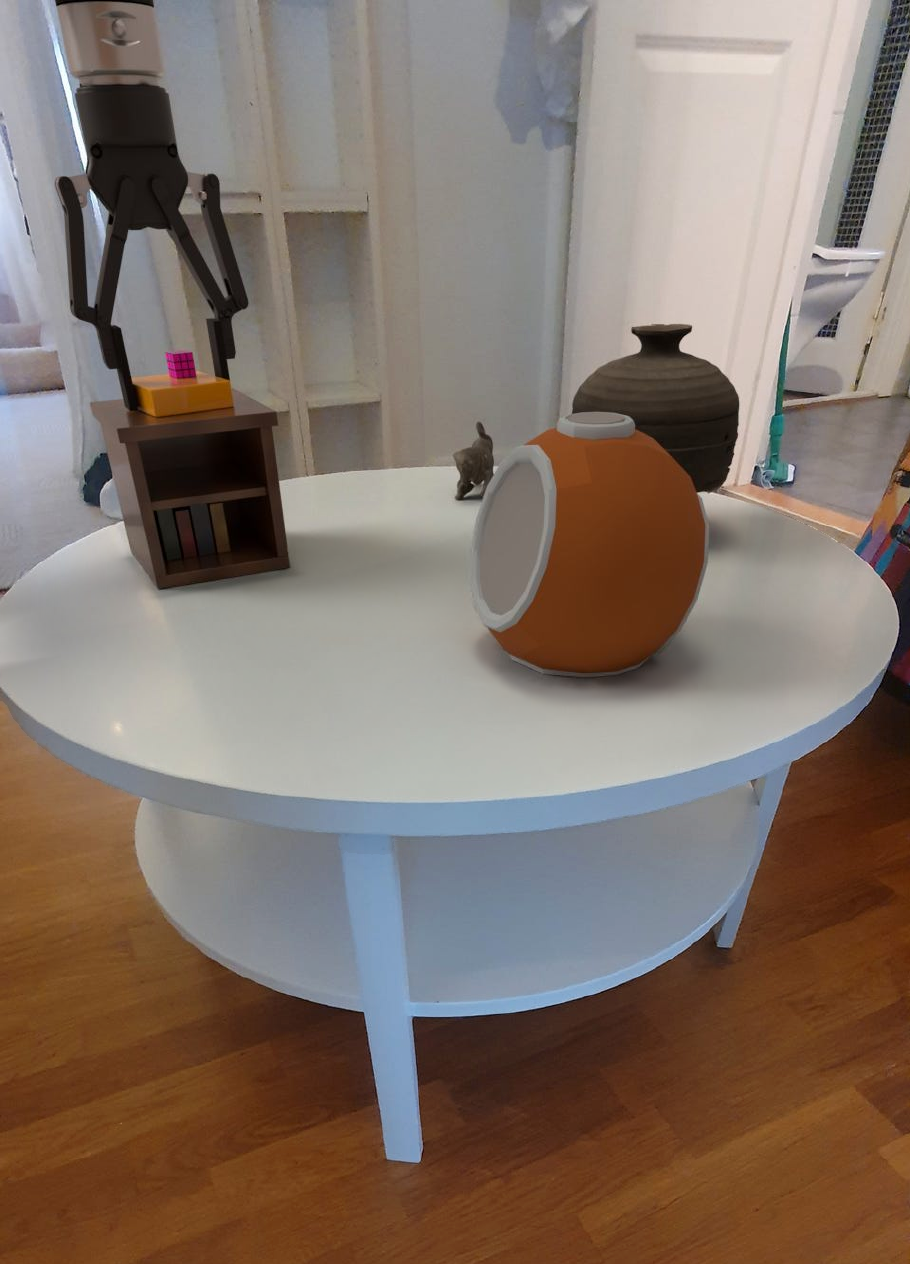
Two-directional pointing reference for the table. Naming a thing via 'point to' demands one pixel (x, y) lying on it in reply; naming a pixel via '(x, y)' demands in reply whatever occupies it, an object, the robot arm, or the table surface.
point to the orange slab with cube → (181, 389)
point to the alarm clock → (588, 548)
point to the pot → (671, 402)
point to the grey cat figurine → (475, 464)
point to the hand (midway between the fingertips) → (179, 403)
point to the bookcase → (197, 490)
